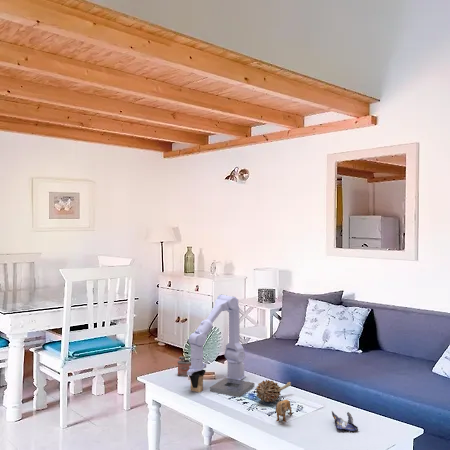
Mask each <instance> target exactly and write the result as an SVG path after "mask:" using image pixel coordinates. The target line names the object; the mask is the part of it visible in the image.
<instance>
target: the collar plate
mask: <svg viewBox="0 0 450 450" xmlns="http://www.w3.org/2000/svg"><path fill="white" fill-rule="evenodd" d="M253 387H254V388H255V382H253V381H246V380H236V379H230V378H226V377H224V378H222V379H221V380H219V381H218V382H215V384H213V385H211V386H209V392H211V393H216V394H222V395H226V396H227V395H228V396H232V397H237V398H241V397H242V396H244V395H245V394H246V392H247V393H248V392H250V391H251V390H252V389H254V388H253ZM250 389H251V390H250Z"/></svg>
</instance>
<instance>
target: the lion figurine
mask: <svg viewBox="0 0 450 450" xmlns="http://www.w3.org/2000/svg"><path fill="white" fill-rule="evenodd" d="M291 407H292V405H291V402H290V400H289V399H283V400H279V401H278V402H277V403H276V406H275V413H276V420H275V421H276V422H277V421H279V422H280V416H282V422H283V423H287V421H286V413H287V412H288V411H289V413H288V414H289V416H291V415H292V414H293V413H292V411H293V410H292V408H291Z"/></svg>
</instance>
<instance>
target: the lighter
mask: <svg viewBox="0 0 450 450" xmlns="http://www.w3.org/2000/svg"><path fill="white" fill-rule="evenodd" d="M184 357H185V356H179V357H178V360H177V377H183V378H187V377H188V375H187V371H188V370H189V369H190V368H189V366H191V362H189V360H185V358H184ZM188 378H189V377H188Z"/></svg>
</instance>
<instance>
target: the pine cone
mask: <svg viewBox="0 0 450 450" xmlns="http://www.w3.org/2000/svg"><path fill="white" fill-rule="evenodd" d="M291 383H292V382H291V381H288V382H287V383H286V384H284V385H283V386H279V385H278V382H275V381H273V380H270V379H265V381H264V380H262V382H258V383H257V385H258V386H256V387H255V389H256V390H255V391H254V392H255V393H256V397H257V399H259V400H260V401H261V402H265V403H267V402H268V403H270V402H271V403H273V401H274V402H276V400H278V398H279V399H280V398H281V397H280V396H281V395H282V394H281V391H283V390H285V389H287V388H288V387H291V386H292V384H291Z"/></svg>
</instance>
